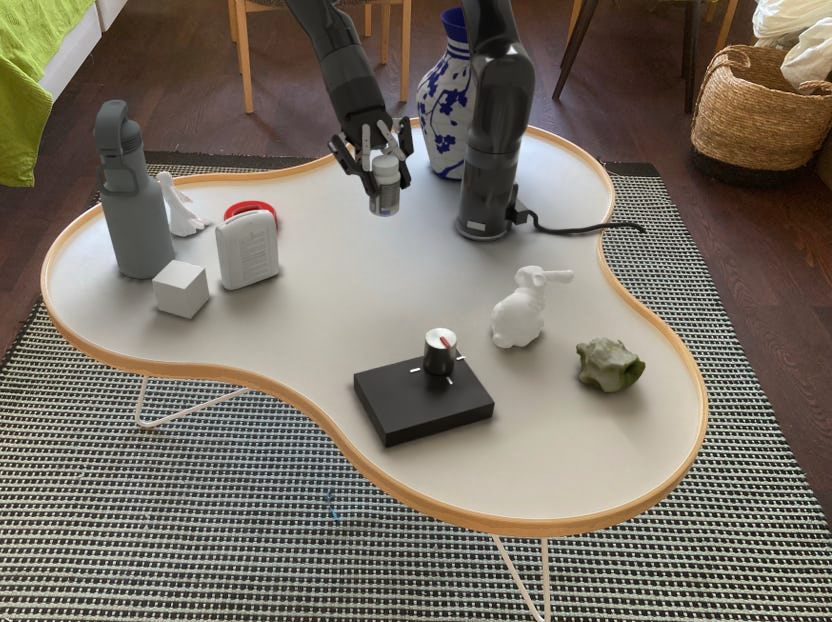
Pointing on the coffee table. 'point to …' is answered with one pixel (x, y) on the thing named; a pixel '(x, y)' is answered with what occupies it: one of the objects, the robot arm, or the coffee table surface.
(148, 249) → the water bottle
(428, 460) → the coffee table surface
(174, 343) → the coffee table surface
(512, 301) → the rabbit
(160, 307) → the white cube
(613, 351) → the greyish green lumpy piece
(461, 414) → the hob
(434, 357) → the knob
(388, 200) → the pill bottle
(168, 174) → the figurine
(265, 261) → the photo printer
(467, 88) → the vase
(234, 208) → the decorative ornament
